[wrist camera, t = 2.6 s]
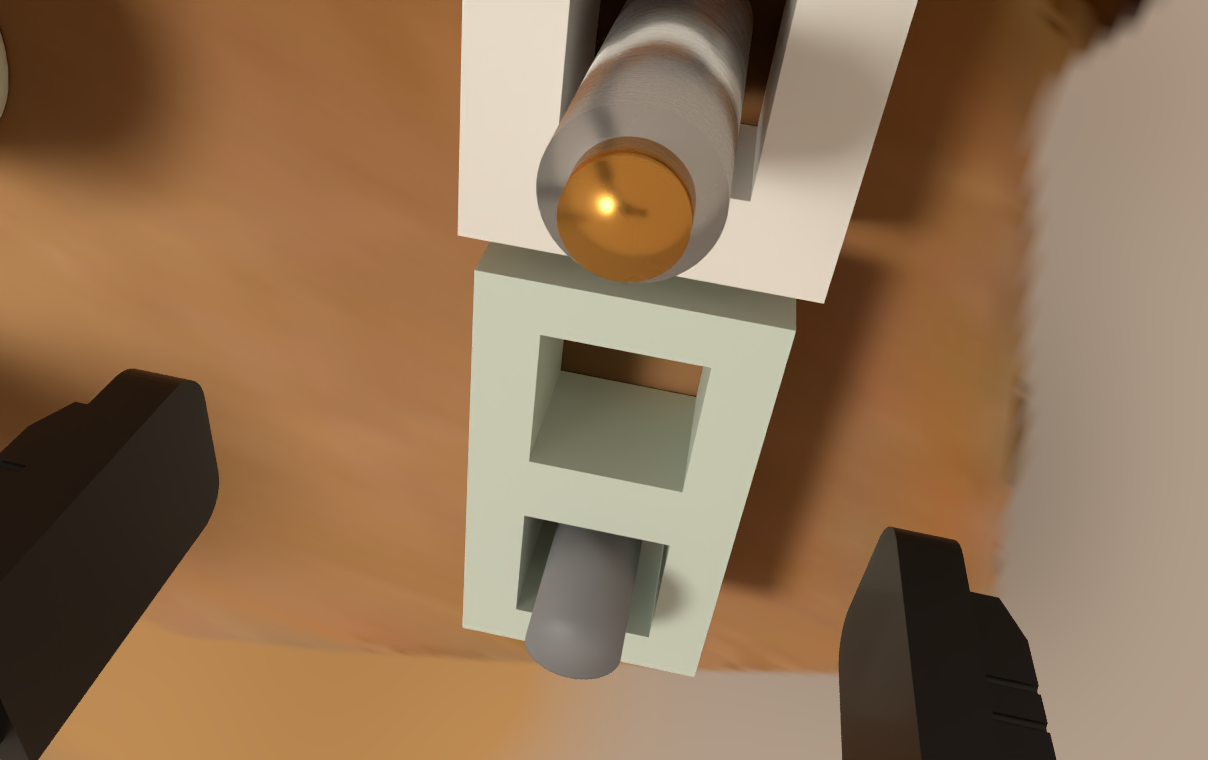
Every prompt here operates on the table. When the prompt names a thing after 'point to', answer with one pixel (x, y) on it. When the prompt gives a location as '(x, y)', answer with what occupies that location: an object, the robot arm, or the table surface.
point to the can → (3, 76)
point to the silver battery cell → (650, 141)
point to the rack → (609, 459)
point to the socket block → (764, 153)
